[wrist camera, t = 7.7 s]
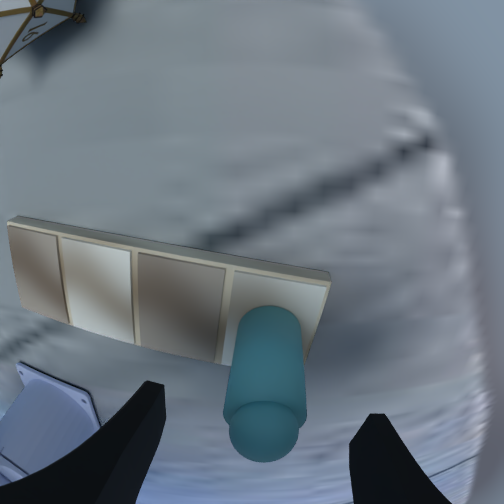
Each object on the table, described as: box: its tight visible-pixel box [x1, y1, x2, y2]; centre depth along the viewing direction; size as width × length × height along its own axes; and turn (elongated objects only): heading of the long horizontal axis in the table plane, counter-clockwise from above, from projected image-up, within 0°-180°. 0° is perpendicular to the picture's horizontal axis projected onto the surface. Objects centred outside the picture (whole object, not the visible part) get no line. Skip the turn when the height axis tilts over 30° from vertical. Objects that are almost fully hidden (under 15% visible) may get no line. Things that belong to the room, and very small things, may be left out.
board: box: [7, 216, 331, 366], centre depth 15 cm, size 6×18×1 cm, turn 81°
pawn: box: [223, 306, 307, 462], centre depth 12 cm, size 3×3×7 cm
